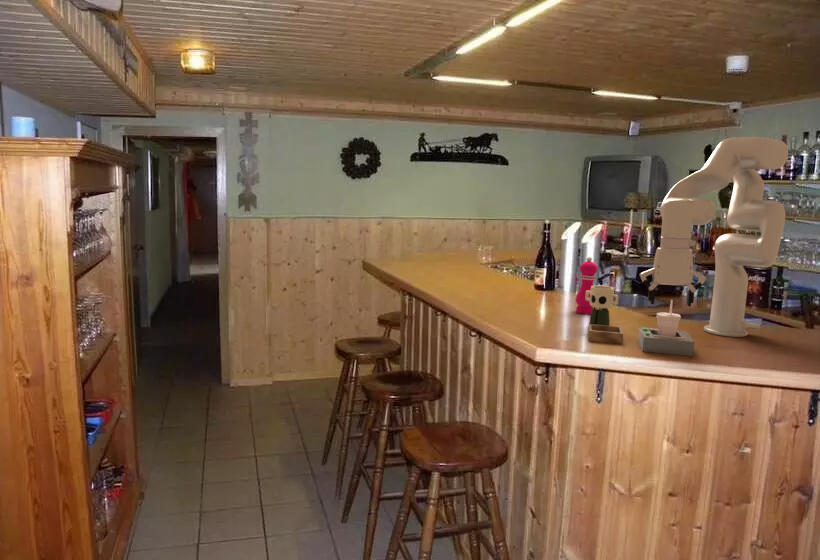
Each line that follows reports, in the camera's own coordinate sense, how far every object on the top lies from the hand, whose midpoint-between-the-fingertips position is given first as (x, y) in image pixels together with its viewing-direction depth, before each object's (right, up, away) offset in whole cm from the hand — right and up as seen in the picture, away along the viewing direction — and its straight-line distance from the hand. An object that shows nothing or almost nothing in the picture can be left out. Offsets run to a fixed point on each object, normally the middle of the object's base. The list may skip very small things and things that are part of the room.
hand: (670, 304), depth 178 cm
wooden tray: (-15, -11, +10) cm, 21 cm away
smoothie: (-1, -13, +1) cm, 13 cm away
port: (-1, -12, +1) cm, 12 cm away
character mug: (-12, -8, +26) cm, 30 cm away
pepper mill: (-10, -5, +49) cm, 50 cm away
